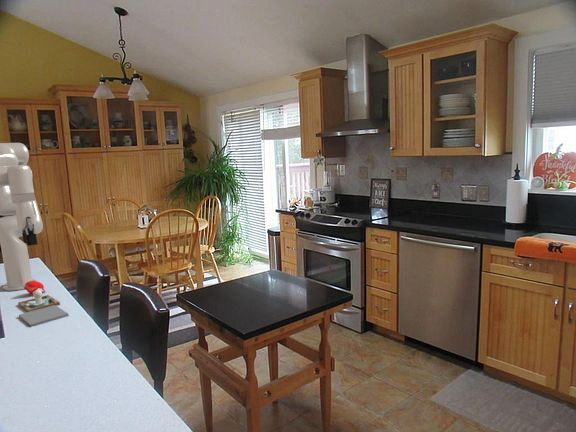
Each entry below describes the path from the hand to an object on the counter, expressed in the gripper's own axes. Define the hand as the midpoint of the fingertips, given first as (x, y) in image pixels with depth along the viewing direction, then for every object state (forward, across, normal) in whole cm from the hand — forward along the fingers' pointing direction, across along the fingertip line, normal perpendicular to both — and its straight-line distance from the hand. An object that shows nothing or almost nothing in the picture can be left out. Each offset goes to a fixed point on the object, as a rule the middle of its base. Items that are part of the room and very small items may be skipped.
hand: (30, 243), depth 163 cm
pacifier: (+24, 0, 0) cm, 24 cm away
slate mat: (+24, +15, -1) cm, 29 cm away
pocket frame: (+24, 0, 0) cm, 24 cm away
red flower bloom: (+24, -16, +1) cm, 29 cm away
